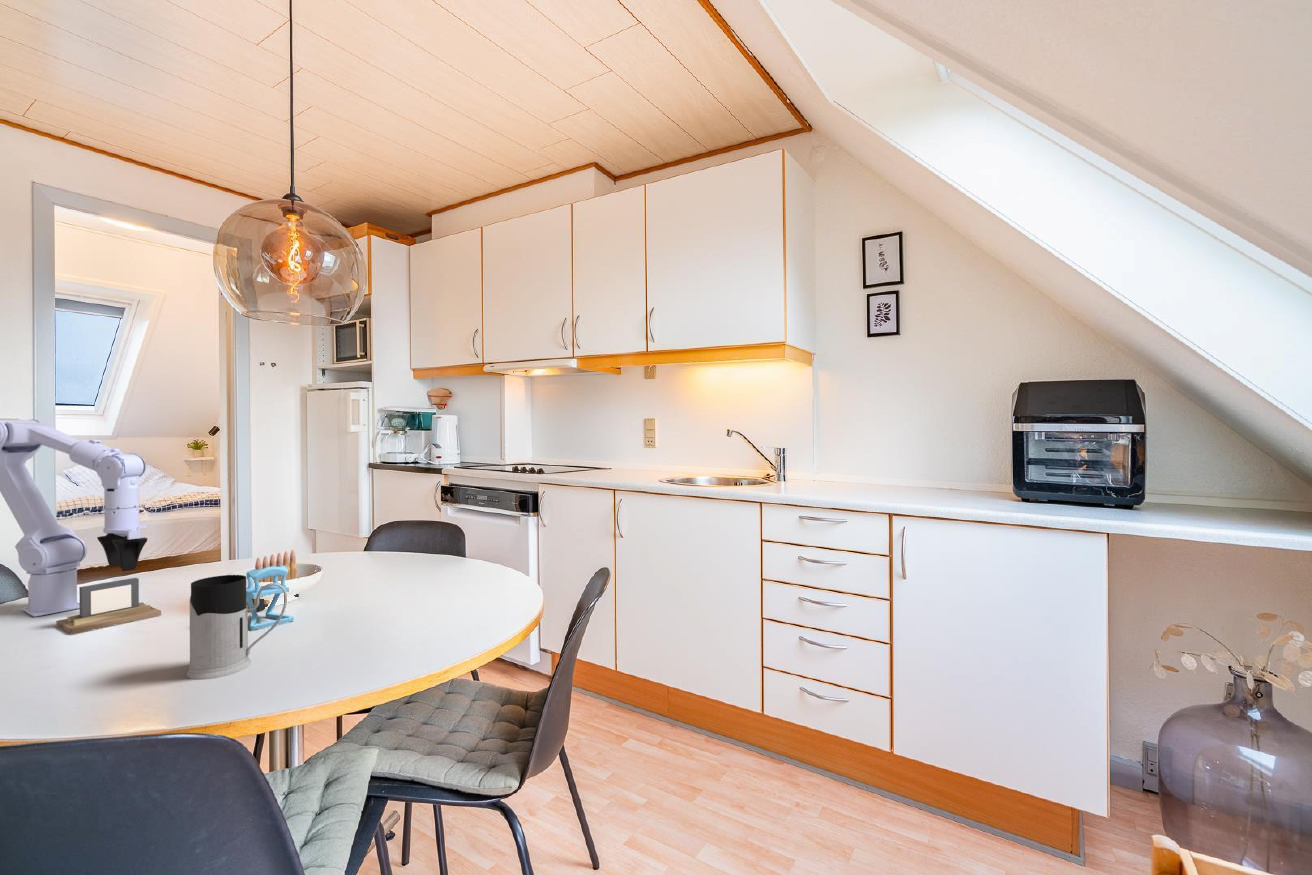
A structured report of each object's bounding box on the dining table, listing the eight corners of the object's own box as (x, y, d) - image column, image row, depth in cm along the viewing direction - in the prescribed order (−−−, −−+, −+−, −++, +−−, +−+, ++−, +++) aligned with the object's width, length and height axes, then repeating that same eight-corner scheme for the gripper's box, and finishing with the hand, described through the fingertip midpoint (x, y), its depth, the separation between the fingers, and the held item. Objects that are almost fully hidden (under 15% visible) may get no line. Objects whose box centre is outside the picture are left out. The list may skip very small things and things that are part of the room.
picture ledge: (56, 625, 118) (56, 615, 118) (143, 607, 130) (143, 599, 130) (72, 634, 113) (72, 624, 113) (161, 615, 125) (161, 606, 125)
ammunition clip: (257, 612, 128) (257, 558, 127) (251, 611, 128) (251, 558, 128) (299, 598, 138) (299, 549, 138) (293, 598, 138) (293, 548, 138)
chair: (280, 613, 127) (280, 559, 127) (294, 621, 122) (294, 564, 122) (239, 622, 121) (238, 565, 121) (251, 630, 116) (251, 571, 116)
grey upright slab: (79, 620, 118) (79, 587, 118) (136, 609, 126) (135, 577, 126) (82, 622, 118) (82, 588, 117) (139, 610, 125) (138, 578, 125)
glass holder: (198, 662, 100) (197, 576, 100) (292, 651, 105) (292, 569, 105) (177, 682, 92) (176, 589, 92) (280, 669, 97) (280, 581, 97)
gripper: (157, 507, 128) (158, 568, 128) (132, 503, 136) (133, 560, 136) (115, 511, 122) (116, 575, 122) (92, 506, 130) (92, 566, 130)
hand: (122, 568), depth 129 cm, fingers open, 7 cm apart
